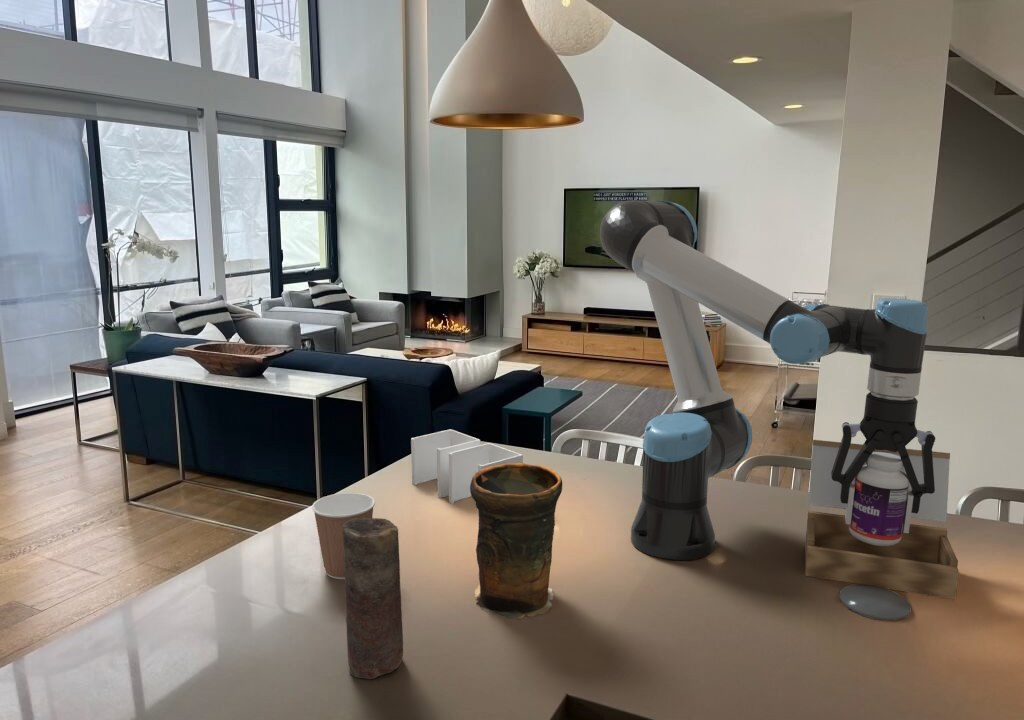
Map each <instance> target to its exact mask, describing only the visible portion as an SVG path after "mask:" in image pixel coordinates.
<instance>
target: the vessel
mask: <svg viewBox="0 0 1024 720" xmlns="http://www.w3.org/2000/svg"><path fill="white" fill-rule="evenodd" d="M562 491H563V480H562V477H561V475H560V474H559V473H558V472H557V471H555V470H553V469H552V468H548V467H546V466H544V465H539V464H537V465H536V464H534V465H533V464H528V463H516V464H502V465H497V466H490V467H488V468H484V469H482V470H479V471H477V472H476V473H475V475H474V476H473V478H472V481H471V484H470V493H471V496H470V497H471V498H472V499H473V500H474V503H475V507H476V509H477V514H478V513H479V516H478V530H477V531H478V532H477V542H476V549H475V553H476V562H477V566H478V579H479V584H478V586H477V587H476V589H475V590H474V594H475V595H474V597H475V598H476V599H475V601H476V602H475V603H476V604H475V605H478V606H479V608H480V610H481V611H483V610H484V612H486V613H487V614H488V615H494V616H500V617H503V618H506V619H511V620H516V619H517V620H518V619H524V618H525V616H528V617H535V616H536V615H541V614H542V615H543V614H547V612H548V611H549V610H550V609H551V608H552V606H553V603H552V602H551V600H554V598H553V597H554V596H555V594H554V593H553V588H551V587H549V586H550V585H549V584H550V573H551V566H552V560H553V555H552V554H553V540H554V534H555V521H556V519H555V518H556V517H555V516H556V515H555V513H556V508H557V505H558V504H557V503H558V501H559V498H560V496H561V494H562Z"/></svg>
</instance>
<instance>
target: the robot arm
mask: <svg viewBox="0 0 1024 720" xmlns="http://www.w3.org/2000/svg"><path fill="white" fill-rule="evenodd" d="M599 229H600V230H599V238H600V239H599V240H600V244H601V246H602V248H603V250H604V251H605V253H606V254H607V256H609V258H611V259H612V260H613V261H615V262H616V263H617V264H619V265H621V266H623V267H624V268H626V269H628V270H630V271H631V272H633V273H635V274H636V277H637V278H638V279H640V280H642V281H644V282H645V284H646V286H647V288H648V293H649V296H650V301H651V304H652V308H653V311H654V315H655V319H656V323H657V326H658V330H659V331H658V332H659V333H660V338H661V341H662V345H663V349H664V352H665V353H664V354H665V356H666V360H667V364H668V367H669V370H670V375H671V379H672V382H673V385H674V390H675V393H676V398H677V402H676V404H675V406H674V407H673V409H672V413H671V414H670V413H663V414H660V415H657V416H655V417H653V418H652V419H650V420H649V421H648V422H647V424H646V425H645V429H644V435H643V439H642V448H643V451H642V452H643V453H642V454H643V455H642V481H641V482H642V483H641V485H642V487H641V502H640V504H639V507H638V509H637V512H636V514H635V517H634V520H633V522H632V524H631V529H630V530H631V531H630V542H631V544H632V545H633V546H634V547H635V548H636V549H637V550H638V551H641V552H642V553H644V554H646V555H649V556H652V557H656V558H658V559H659V558H660V559H664V560H665V559H666V560H672V561H689V560H690V561H691V560H697V559H701V558H704V557H706V556H708V555H710V554H711V553H712V552H713V551H714V549H715V545H716V543H715V541H716V536H715V535H716V534H715V530H714V526H713V524H712V520H711V516H710V513H709V509H708V504H707V503H708V489H709V488H708V486H709V485H708V484H709V479H710V478H711V477H714V476H715V475H718V474H720V473H721V472H723V471H725V470H729V469H731V468H733V467H735V466H736V465H737V464H738V463H740V461H742V460H743V459H744V458H745V457H746V456H747V455H748V453H749V451H750V449H751V446H752V442H753V430H752V426H751V423H750V421H749V419H748V417H747V416H746V415H745V414H744V413H743V412H741V411H740V410H739V409H738V408H737V407H736V405H735V401H734V397H733V395H731V394H730V393H728V392H726V391H725V390H723V388H722V384H721V381H720V378H719V374H718V370H717V367H716V363H715V359H714V356H713V352H712V349H711V348H712V347H711V344H710V341H709V337H708V333H707V330H706V325H705V323H704V319H703V315H702V310H701V308H700V305H701V306H704V307H705V308H707V309H709V310H711V311H712V312H714V313H716V314H717V315H719V316H720V317H723V318H725V319H726V320H727V321H730V322H731V323H733V324H734V325H737V326H738V327H740V328H742V329H743V330H745V331H747V332H749V333H750V334H752V335H754V336H755V337H757V338H759V339H761V340H763V341H764V342H766V343H767V344H769V345H770V347H771V349H772V351H773V353H774V354H775V356H776V357H777V358H779V359H780V360H781V361H783V362H785V363H788V364H793V365H800V364H806V363H812V362H814V361H817V360H818V359H820V358H823V357H825V356H826V357H827V356H829V355H831V354H834V353H837V352H841V353H850V354H857V355H861V356H862V355H863V356H866V355H867V356H870V361H869V370H868V378H867V387H866V389H867V390H868V391H869V392H868V393H867V394H866V396H865V403H864V405H865V406H864V410H863V411H864V413H863V417H862V420H861V421H860V423H849V422H843V423H842V426H841V427H842V438H841V439H840V442H841V443H840V447H839V450H838V453H837V456H836V459H835V462H834V465H833V469H832V472H831V476H832V480H833V481H837V482H839V483H841V485H842V486H841V495H840V499H841V503H845V504H846V509H845V522H846V524H849V525H851V517H852V508H853V500H854V491H855V487H854V483H852V481H853V480H854V478H855V477H856V475H857V474H858V472H859V471H860V469H861V468H862V466H863V465H864V463H865V462H866V460H867V459H868V457H869V456H870V455H871V454H872V453H873V451H874V450H875V449H876V450H888V451H891V452H897V451H898V452H899V455H900V458H901V460H902V463H903V466H904V469H905V471H906V474H907V477H908V479H909V482H910V485H911V488H912V491H911V490H908V494H907V502H906V509H905V516H904V523H903V533H909V526H910V524H911V519H912V518H911V513H916V514H917V513H918V511H919V506H920V499H921V496H922V495H923V494H926V493H929V494H933V493H934V492H935V486H934V472H933V458H932V451H933V447H934V444H935V442H936V436H935V435H934V433H933V432H932V431H931V430H927V431H924V430H919V429H917V427H916V416H917V409H918V403H919V401H918V399H917V398H916V397H917V396H919V394H920V385H921V377H922V376H921V375H922V369H923V368H922V367H923V360H924V355H925V354H924V353H925V347H926V342H927V336H928V333H929V330H928V318H929V307H928V305H927V304H926V303H925V302H924V301H920V300H916V299H910V298H907V299H906V298H895V297H894V298H892V297H891V298H888V297H887V298H881V299H879V300H878V301H877V303H876V307H875V308H871V309H870V308H867V309H866V308H855V307H847V306H839V305H830V304H828V303H827V304H826V303H823V304H822V303H821V304H814V303H810V304H809V303H808V304H806V305H804V306H802V305H800V304H797V303H795V302H793V301H791V300H790V299H789V298H787V297H785V296H783V295H781V294H779V293H777V292H775V291H774V290H771V289H770V288H768V287H766V286H765V285H762V284H761V283H759V282H757V281H755V280H753V279H752V278H749V277H747V276H745V275H743V274H742V273H740V272H738V271H736V270H734V269H733V268H730V267H729V266H727V265H725V264H724V263H721V262H719V261H717V260H715V259H714V258H711V257H710V256H708V255H706V254H704V253H702V252H700V251H699V250H697V249H695V248H694V247H695V243H696V242H697V238H698V229H697V223H696V221H695V218H694V217H693V215H692V214H691V212H690V210H688V209H686V208H685V207H684V206H683V205H681V204H678V203H676V202H671V201H669V200H659V199H658V200H635V199H634V200H633V199H632V200H626V201H625V200H624V201H621V202H619V203H617V204H615V205H614V206H613V207H611V208H610V209H609V210H608V211H607V212H606V214H604V217H603V218H602V221H601V224H600V227H599ZM858 432H861V434H863V437H864V439H865V441H864V443H862V445H863V446H862V448H861V450H860V451H859V453H858V454H857V456H856V457H855V459H854V460H853V462H852V463H851V465H850V466H849V468H848V469H847V471H846V472H845V474H841V472H842V469H843V466H844V463H845V460H846V457H847V454H848V450H849V447H850V444H851V442H852V438H855V437H856V436H857V433H858ZM914 438H917V442H918V443H919V445H921V450H922V462H923V475H924V484H919V483H918V480H917V477H916V475H915V472H914V469H913V466H912V464H911V461H910V458H909V455H908V453H907V450H906V449H907V448H906V446H908V444H910V443H911V441H913V440H914Z"/></svg>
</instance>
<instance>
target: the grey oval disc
mask: <svg viewBox="0 0 1024 720" xmlns="http://www.w3.org/2000/svg"><path fill="white" fill-rule="evenodd" d="M839 600H840V602H841V604H842V605H844V606H845V608H847V609H848V610H850V611H852V612H853V613H856V614H858V615H861V616H863V617H867V618H869V619H874V620H881V621H899V620H903V619H906V618H908V617H909V616H910V615H911V611H912V607H911V603H910V601H908V599H906V597H904V596H903V595H901V594H899V593H898V592H895V591H893V590H892V589H887V588H882V587H878V586H873V585H864V584H851V585H847V586H844V587H843V588H841V589H840V591H839Z"/></svg>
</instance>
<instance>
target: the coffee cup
mask: <svg viewBox="0 0 1024 720" xmlns="http://www.w3.org/2000/svg"><path fill="white" fill-rule="evenodd" d="M375 504H376V501H375V498H374V497H372V496H370V495H368V494H366V493H359V492H338V493H335V494H330V495H327V496H323V497H321V498H319V499H317V500H316V501H314V502H313V503H312V505H311V508H312V512H314V518H315V524H316V529H317V534H318V540H319V545H320V552H321V558H322V562H323V568H324V570H325V573H326V575H327V576H328V577H330V578H331V579H334V580H345V571H344V545H343V525H344V524H345V523H346V522H347V521H349V520H351V519H355V518H373V514H374V513H373V512H374V506H375Z"/></svg>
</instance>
